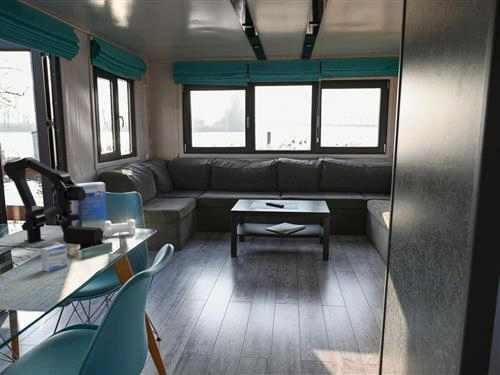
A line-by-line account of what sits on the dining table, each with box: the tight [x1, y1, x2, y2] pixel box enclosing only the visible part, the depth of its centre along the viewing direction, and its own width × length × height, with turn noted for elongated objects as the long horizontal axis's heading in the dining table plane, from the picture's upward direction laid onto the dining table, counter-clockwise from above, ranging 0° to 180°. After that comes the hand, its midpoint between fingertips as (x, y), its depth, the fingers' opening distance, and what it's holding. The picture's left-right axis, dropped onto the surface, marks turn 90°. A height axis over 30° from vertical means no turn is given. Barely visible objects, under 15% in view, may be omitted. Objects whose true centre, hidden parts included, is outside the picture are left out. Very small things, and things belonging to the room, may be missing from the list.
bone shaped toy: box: [103, 218, 136, 238], centre depth 196 cm, size 15×9×8 cm, turn 108°
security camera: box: [62, 225, 104, 250], centre depth 171 cm, size 7×18×10 cm, turn 80°
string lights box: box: [75, 181, 108, 233], centre depth 199 cm, size 13×8×26 cm, turn 124°
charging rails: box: [52, 240, 113, 260], centre depth 172 cm, size 24×14×4 cm, turn 53°
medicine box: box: [40, 243, 68, 273], centre depth 149 cm, size 8×4×9 cm, turn 148°
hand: (64, 232), depth 180 cm, fingers closed
